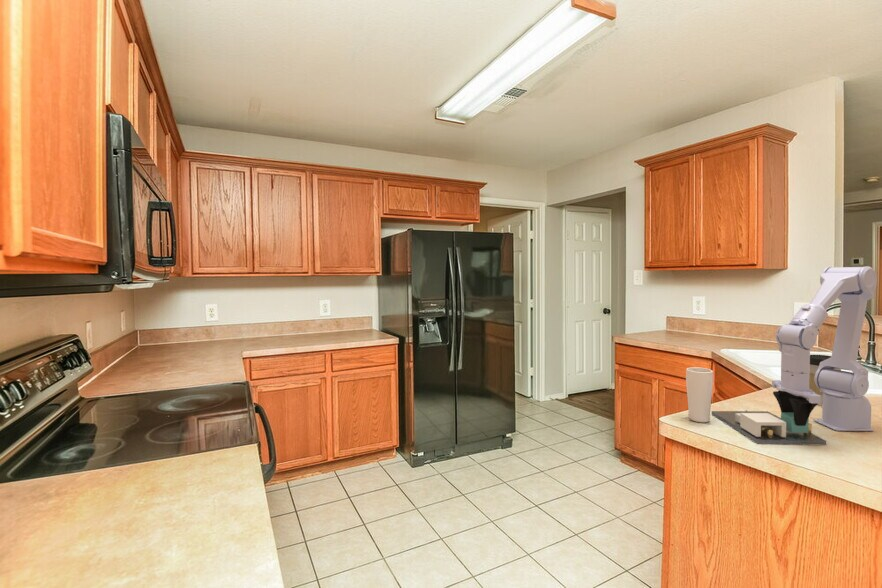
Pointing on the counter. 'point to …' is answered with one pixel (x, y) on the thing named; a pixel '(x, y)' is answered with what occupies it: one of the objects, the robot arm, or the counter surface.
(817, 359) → the coffee cup
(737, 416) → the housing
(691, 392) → the drinking glass
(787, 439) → the base plate
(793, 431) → the block
